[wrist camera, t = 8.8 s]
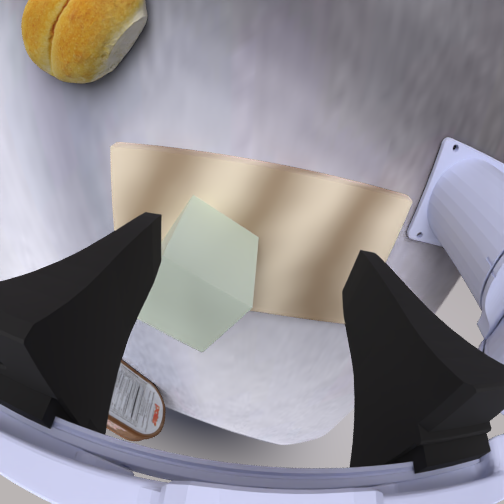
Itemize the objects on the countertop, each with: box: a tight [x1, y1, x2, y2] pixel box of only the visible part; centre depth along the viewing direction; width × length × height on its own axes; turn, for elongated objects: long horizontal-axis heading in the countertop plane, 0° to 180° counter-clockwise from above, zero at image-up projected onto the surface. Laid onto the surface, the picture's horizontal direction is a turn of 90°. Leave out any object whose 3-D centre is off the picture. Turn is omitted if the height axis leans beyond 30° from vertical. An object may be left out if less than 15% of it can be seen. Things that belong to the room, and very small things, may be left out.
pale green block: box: [137, 195, 259, 352], centre depth 19 cm, size 5×5×7 cm
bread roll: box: [21, 0, 148, 83], centre depth 12 cm, size 8×9×4 cm
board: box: [111, 142, 412, 324], centre depth 22 cm, size 20×12×1 cm, turn 81°
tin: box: [106, 360, 165, 441], centre depth 31 cm, size 15×3×8 cm, turn 33°
